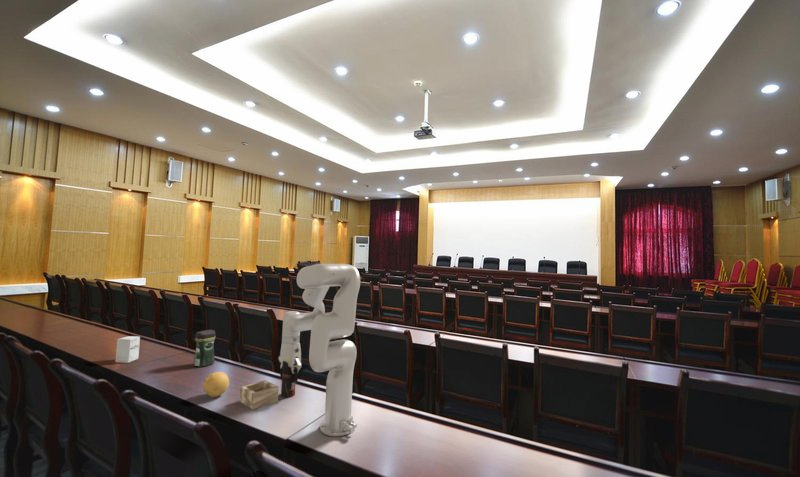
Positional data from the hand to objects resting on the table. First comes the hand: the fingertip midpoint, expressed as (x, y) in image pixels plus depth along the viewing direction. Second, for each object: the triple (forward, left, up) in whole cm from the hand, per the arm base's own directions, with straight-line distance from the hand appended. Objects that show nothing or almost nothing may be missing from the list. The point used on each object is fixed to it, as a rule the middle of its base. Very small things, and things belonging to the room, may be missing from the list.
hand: (288, 379), depth 153 cm
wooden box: (+3, +12, -7) cm, 14 cm away
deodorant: (0, 0, -7) cm, 7 cm away
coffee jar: (+67, +9, -7) cm, 68 cm away
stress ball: (+21, +22, -7) cm, 31 cm away
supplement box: (+102, +35, -7) cm, 108 cm away
